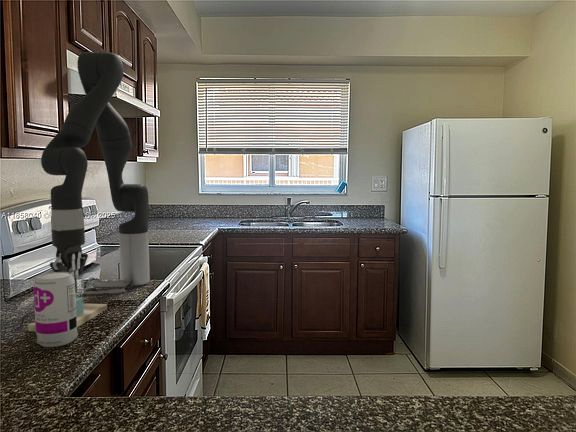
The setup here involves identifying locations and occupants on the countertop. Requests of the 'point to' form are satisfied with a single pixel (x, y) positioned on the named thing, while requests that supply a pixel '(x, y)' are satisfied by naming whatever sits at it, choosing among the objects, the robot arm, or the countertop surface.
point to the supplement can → (55, 309)
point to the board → (88, 314)
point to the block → (79, 306)
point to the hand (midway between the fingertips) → (71, 293)
